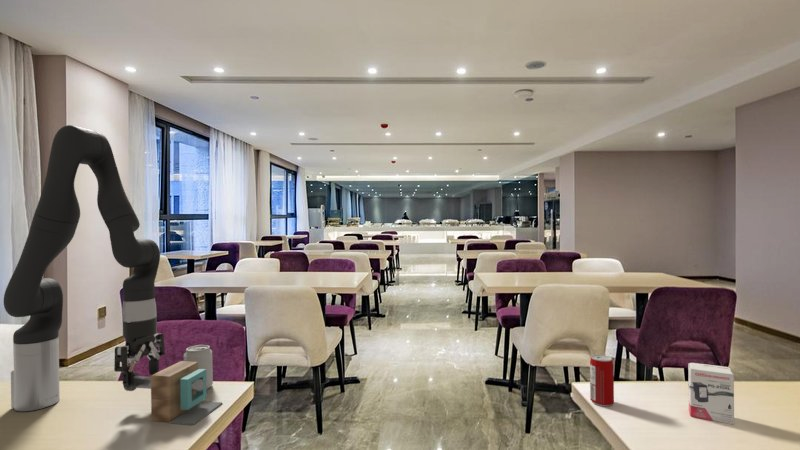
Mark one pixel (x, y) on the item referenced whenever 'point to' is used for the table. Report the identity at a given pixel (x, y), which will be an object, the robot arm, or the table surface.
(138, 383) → the shaft
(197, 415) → the mat
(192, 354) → the can
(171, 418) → the bearing block
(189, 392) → the spacer
